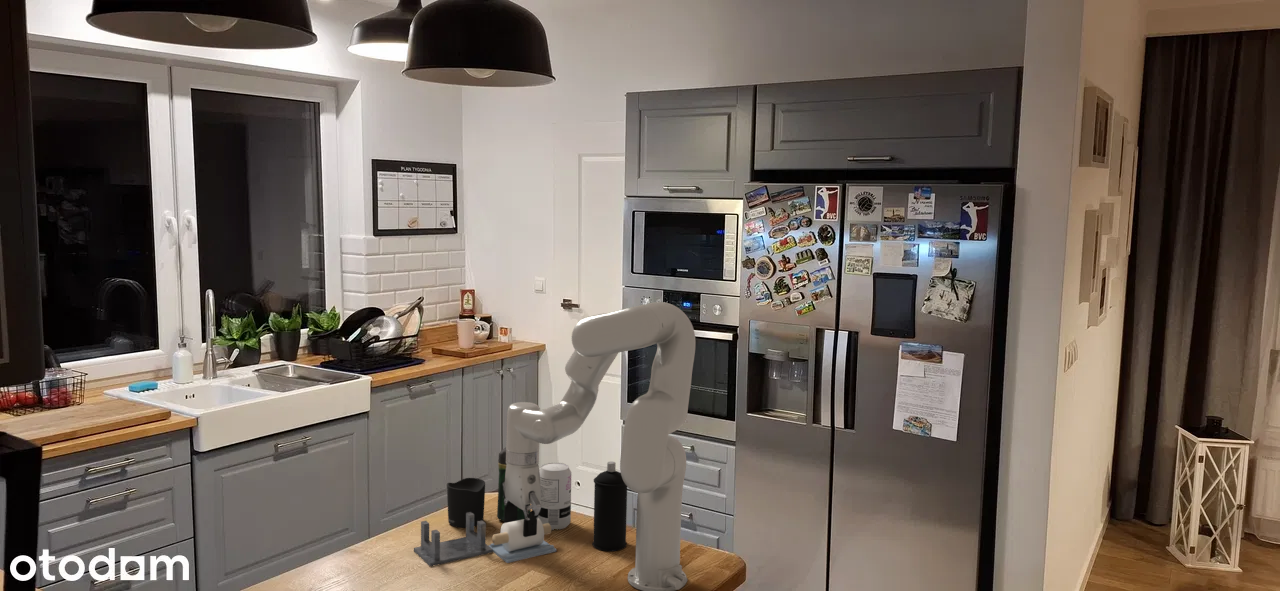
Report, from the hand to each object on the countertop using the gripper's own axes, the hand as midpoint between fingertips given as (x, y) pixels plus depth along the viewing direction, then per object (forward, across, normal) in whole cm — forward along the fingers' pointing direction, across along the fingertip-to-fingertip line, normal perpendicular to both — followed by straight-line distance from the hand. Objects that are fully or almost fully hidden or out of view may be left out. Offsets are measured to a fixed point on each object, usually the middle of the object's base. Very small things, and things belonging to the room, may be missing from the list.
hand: (520, 528), depth 200 cm
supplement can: (+5, +9, -14) cm, 18 cm away
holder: (+5, +6, +14) cm, 16 cm away
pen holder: (+6, +22, +4) cm, 23 cm away
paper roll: (+1, -1, 0) cm, 1 cm away
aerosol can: (+5, -9, -19) cm, 22 cm away
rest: (+5, -1, 0) cm, 5 cm away
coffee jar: (+6, +19, -8) cm, 22 cm away
